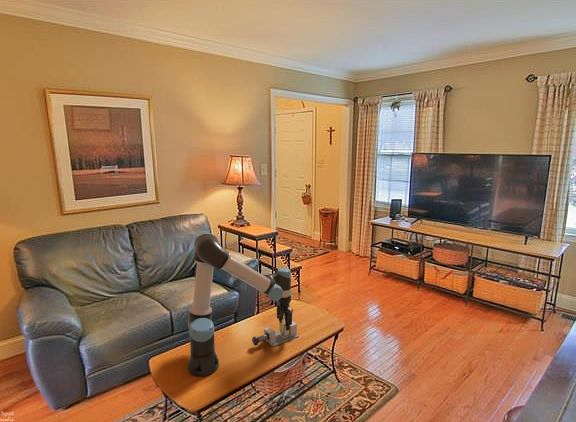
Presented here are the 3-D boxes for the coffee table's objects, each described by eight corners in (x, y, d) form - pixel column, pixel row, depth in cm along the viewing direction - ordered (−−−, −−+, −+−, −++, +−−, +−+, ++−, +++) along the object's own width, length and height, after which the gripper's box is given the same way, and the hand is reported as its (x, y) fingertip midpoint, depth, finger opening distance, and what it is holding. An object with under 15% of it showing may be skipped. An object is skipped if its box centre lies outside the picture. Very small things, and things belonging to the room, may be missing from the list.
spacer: (283, 336, 195) (283, 324, 194) (279, 332, 199) (279, 321, 197) (289, 333, 198) (289, 322, 196) (285, 330, 201) (285, 319, 200)
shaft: (256, 347, 185) (256, 339, 184) (252, 343, 188) (252, 335, 187) (275, 339, 192) (275, 332, 191) (270, 336, 195) (270, 328, 194)
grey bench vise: (273, 347, 187) (273, 335, 186) (262, 338, 196) (262, 326, 195) (298, 336, 198) (298, 325, 196) (287, 328, 207) (287, 317, 205)
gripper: (298, 298, 189) (298, 337, 193) (280, 288, 203) (280, 324, 207) (287, 302, 185) (287, 341, 189) (270, 291, 198) (270, 328, 203)
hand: (284, 332), depth 198 cm, fingers closed on spacer, 4 cm apart
